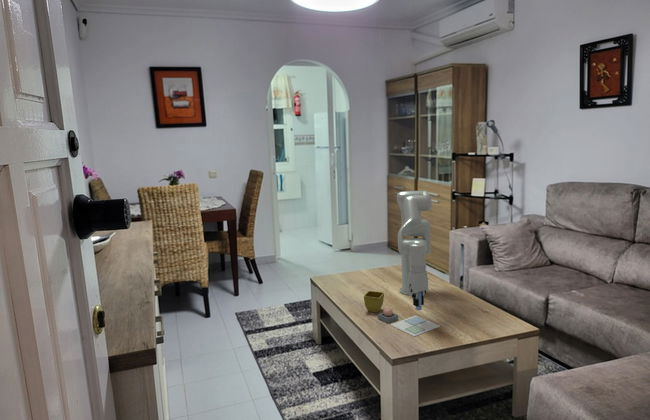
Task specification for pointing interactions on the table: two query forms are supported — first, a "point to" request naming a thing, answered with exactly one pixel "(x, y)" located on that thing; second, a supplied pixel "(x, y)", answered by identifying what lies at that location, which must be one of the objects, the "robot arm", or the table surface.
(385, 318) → the button collar
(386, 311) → the button
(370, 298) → the flower pot
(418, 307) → the cylinder
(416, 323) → the sheet
